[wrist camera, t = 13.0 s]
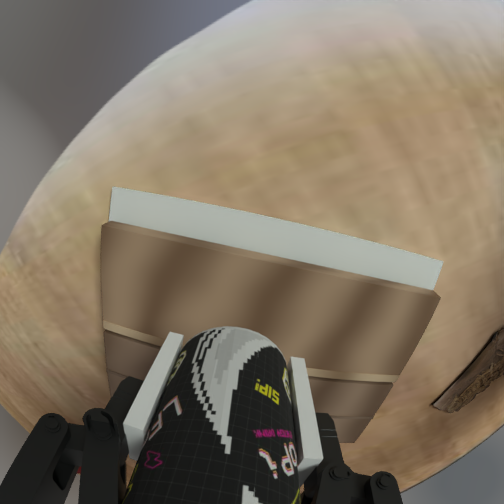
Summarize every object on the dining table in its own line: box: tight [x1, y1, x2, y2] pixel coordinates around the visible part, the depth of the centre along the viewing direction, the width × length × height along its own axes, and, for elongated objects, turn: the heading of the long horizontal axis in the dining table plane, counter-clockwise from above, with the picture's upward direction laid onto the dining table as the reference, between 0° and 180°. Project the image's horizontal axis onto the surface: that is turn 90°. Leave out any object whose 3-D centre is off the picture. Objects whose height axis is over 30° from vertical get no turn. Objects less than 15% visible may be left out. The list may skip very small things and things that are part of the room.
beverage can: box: [122, 326, 301, 504], centre depth 9 cm, size 6×6×12 cm
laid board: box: [104, 330, 393, 443], centre depth 23 cm, size 26×9×2 cm, turn 78°
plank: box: [101, 221, 440, 382], centre depth 20 cm, size 26×9×2 cm, turn 78°
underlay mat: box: [109, 187, 443, 290], centre depth 22 cm, size 27×20×1 cm
